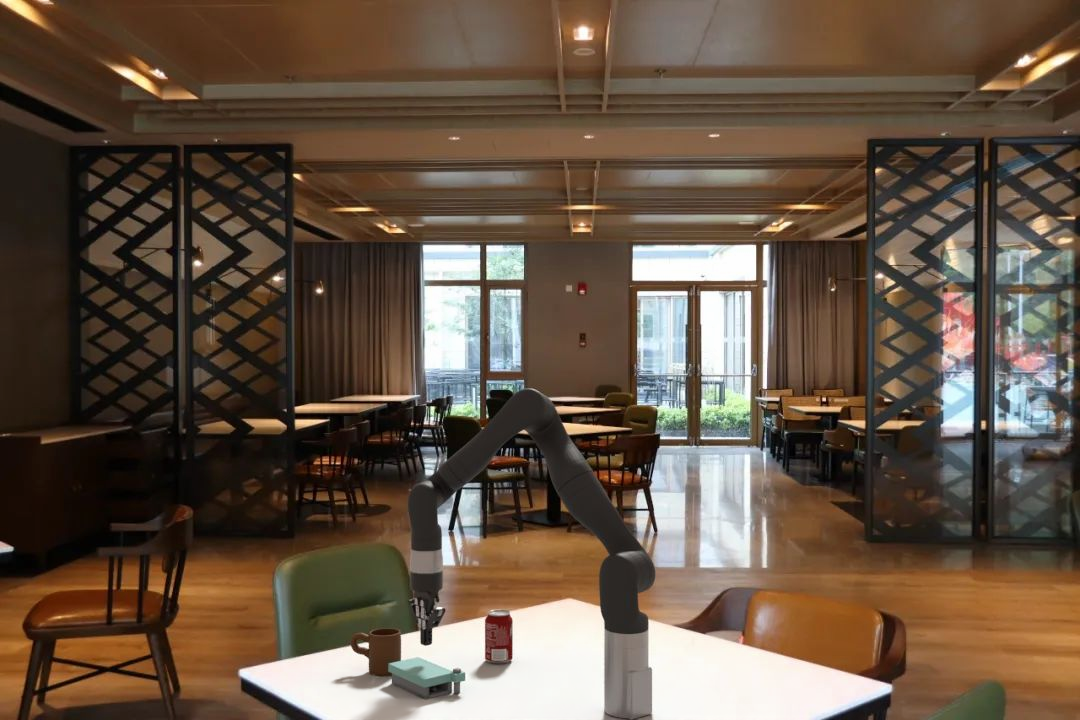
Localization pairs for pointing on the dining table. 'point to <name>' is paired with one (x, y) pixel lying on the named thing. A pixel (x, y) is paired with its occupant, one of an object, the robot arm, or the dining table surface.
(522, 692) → the dining table surface
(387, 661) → the mug
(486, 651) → the soda can
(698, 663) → the dining table surface
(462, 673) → the cover
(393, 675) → the grey rail
